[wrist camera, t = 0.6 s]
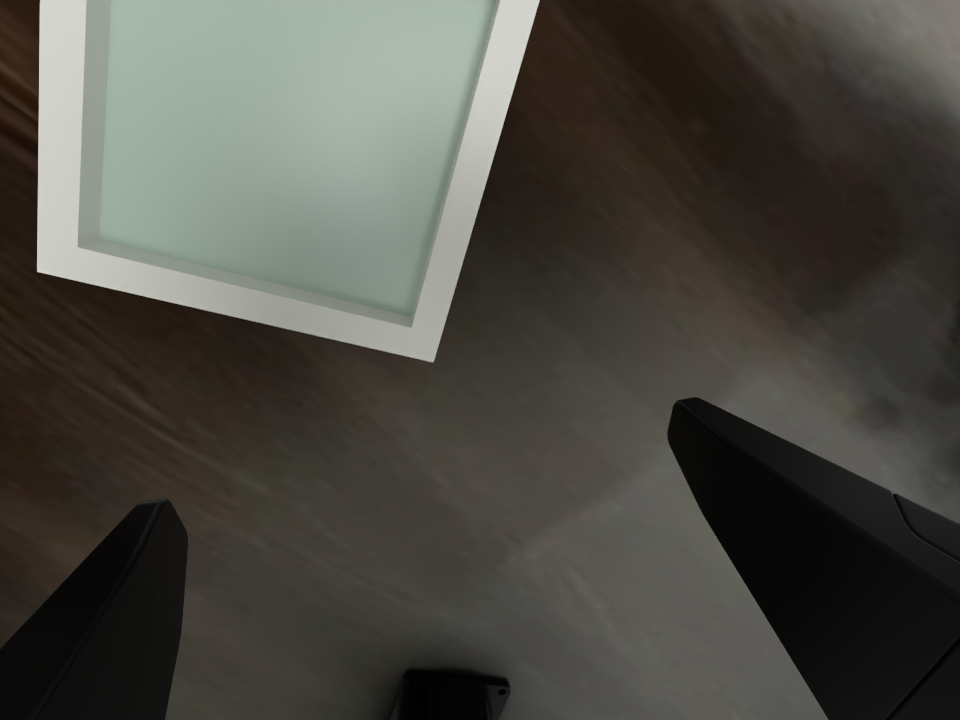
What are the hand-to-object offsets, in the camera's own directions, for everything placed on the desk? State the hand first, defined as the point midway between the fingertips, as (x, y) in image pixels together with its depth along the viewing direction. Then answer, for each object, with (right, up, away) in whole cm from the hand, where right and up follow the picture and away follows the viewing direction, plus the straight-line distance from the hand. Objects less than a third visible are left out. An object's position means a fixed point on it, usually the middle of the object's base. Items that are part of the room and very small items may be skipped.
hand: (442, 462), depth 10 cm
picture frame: (-6, +10, +10) cm, 16 cm away
